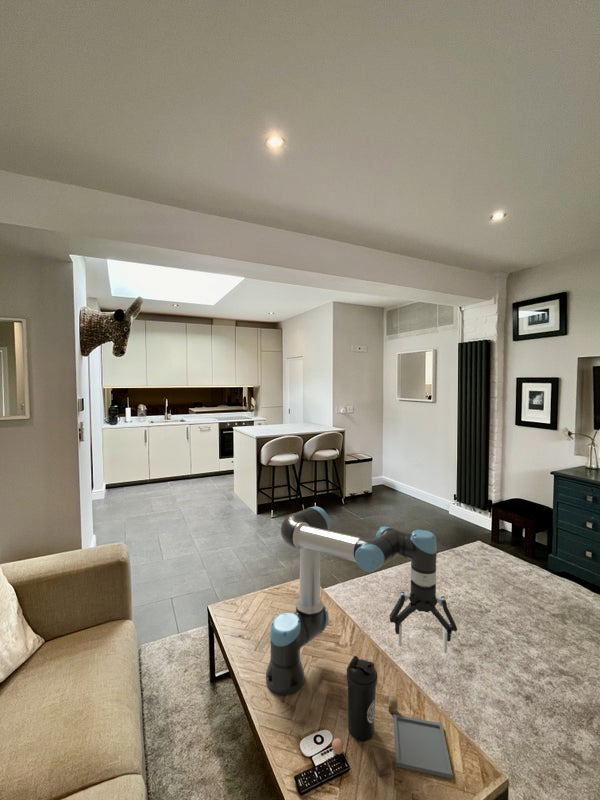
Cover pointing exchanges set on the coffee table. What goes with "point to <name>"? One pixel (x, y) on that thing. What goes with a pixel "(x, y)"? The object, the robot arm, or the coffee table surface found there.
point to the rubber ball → (337, 746)
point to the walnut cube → (383, 763)
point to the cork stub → (393, 705)
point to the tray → (421, 746)
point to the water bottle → (361, 698)
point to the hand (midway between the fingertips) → (422, 646)
